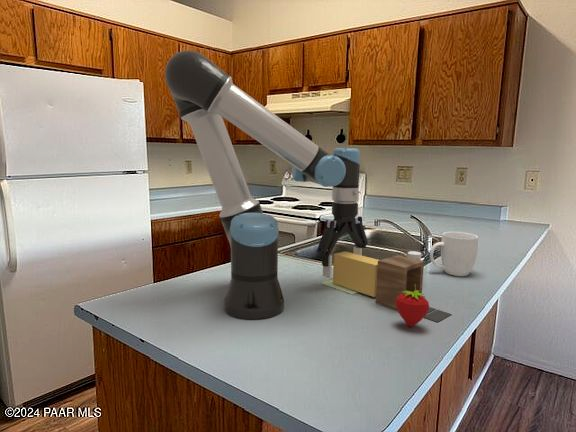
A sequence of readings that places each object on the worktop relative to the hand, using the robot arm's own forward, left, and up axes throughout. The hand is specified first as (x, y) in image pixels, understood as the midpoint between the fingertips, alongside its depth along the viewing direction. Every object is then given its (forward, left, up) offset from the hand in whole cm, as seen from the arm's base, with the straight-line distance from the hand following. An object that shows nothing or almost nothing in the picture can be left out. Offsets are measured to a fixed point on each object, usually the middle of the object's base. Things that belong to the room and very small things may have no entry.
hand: (342, 272), depth 120 cm
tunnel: (0, -20, -4) cm, 20 cm away
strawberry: (-10, -29, -4) cm, 31 cm away
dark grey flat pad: (0, -28, -4) cm, 29 cm away
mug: (+37, -16, -4) cm, 41 cm away
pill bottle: (+17, -14, -4) cm, 22 cm away
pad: (0, -2, -4) cm, 4 cm away
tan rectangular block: (0, -6, -3) cm, 7 cm away
